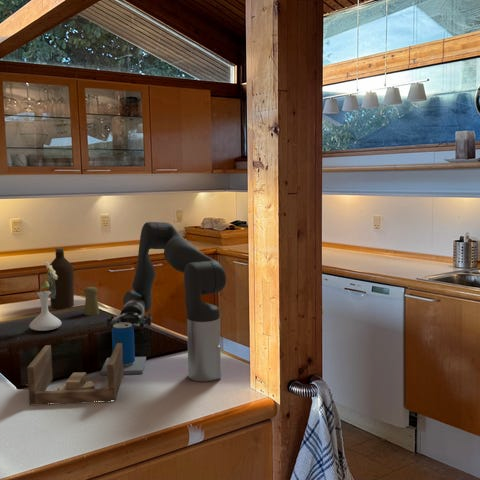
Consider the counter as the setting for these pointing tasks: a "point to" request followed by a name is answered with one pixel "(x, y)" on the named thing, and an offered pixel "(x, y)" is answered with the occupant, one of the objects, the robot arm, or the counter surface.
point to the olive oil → (61, 282)
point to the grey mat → (134, 368)
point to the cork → (91, 301)
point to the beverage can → (124, 341)
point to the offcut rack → (43, 376)
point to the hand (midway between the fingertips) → (127, 326)
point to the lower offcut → (86, 386)
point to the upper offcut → (76, 381)
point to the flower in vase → (45, 308)
